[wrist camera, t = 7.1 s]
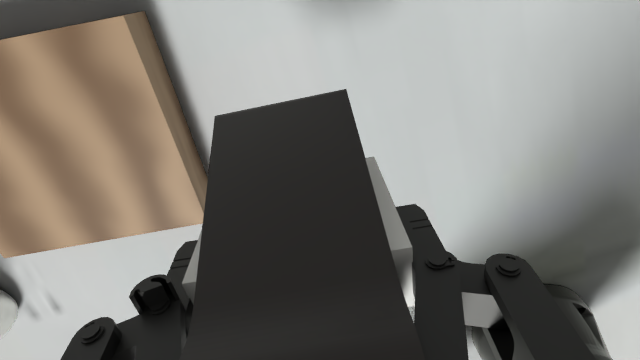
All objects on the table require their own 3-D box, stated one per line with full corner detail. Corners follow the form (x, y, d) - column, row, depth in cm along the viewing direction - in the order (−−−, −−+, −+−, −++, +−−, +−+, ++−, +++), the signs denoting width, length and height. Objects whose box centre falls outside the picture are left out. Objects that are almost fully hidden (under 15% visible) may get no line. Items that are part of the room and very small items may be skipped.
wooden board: (144, 10, 29) (123, 15, 25) (215, 199, 37) (207, 222, 34) (-95, 58, 29) (-148, 69, 26) (31, 232, 38) (4, 258, 35)
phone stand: (369, 240, 21) (443, 512, 10) (266, 259, 21) (236, 542, 10) (346, 86, 16) (435, 288, 6) (216, 112, 16) (77, 349, 6)
